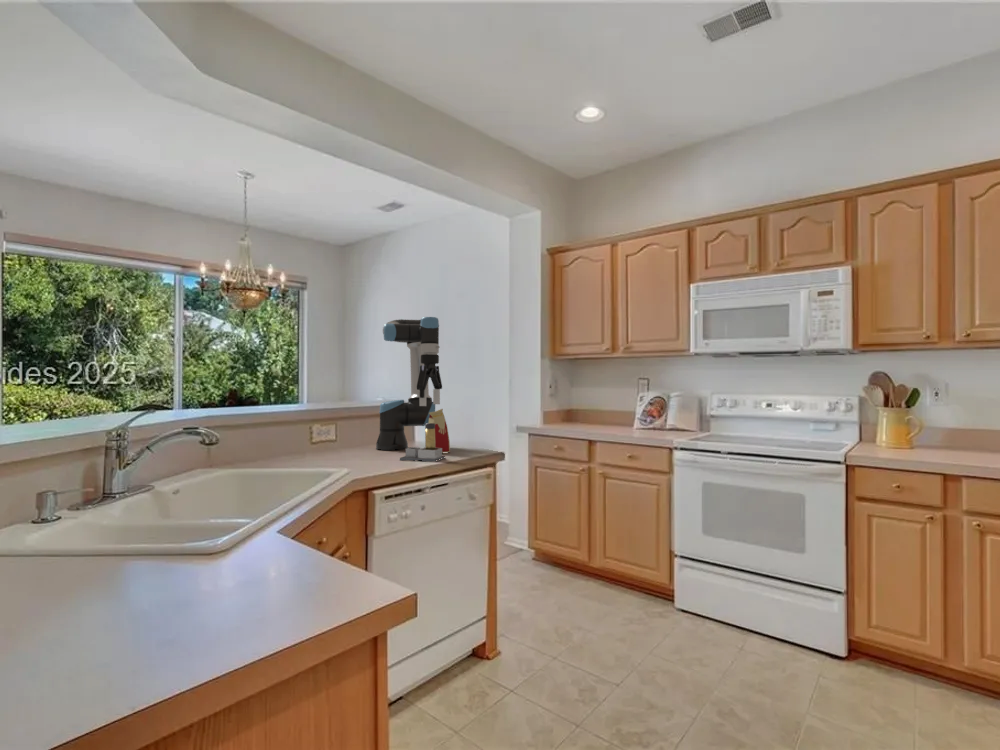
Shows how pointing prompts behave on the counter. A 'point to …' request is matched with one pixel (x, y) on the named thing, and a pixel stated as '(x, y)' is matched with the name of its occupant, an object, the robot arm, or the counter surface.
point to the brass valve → (430, 436)
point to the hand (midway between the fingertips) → (429, 405)
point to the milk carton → (440, 430)
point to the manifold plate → (422, 454)
